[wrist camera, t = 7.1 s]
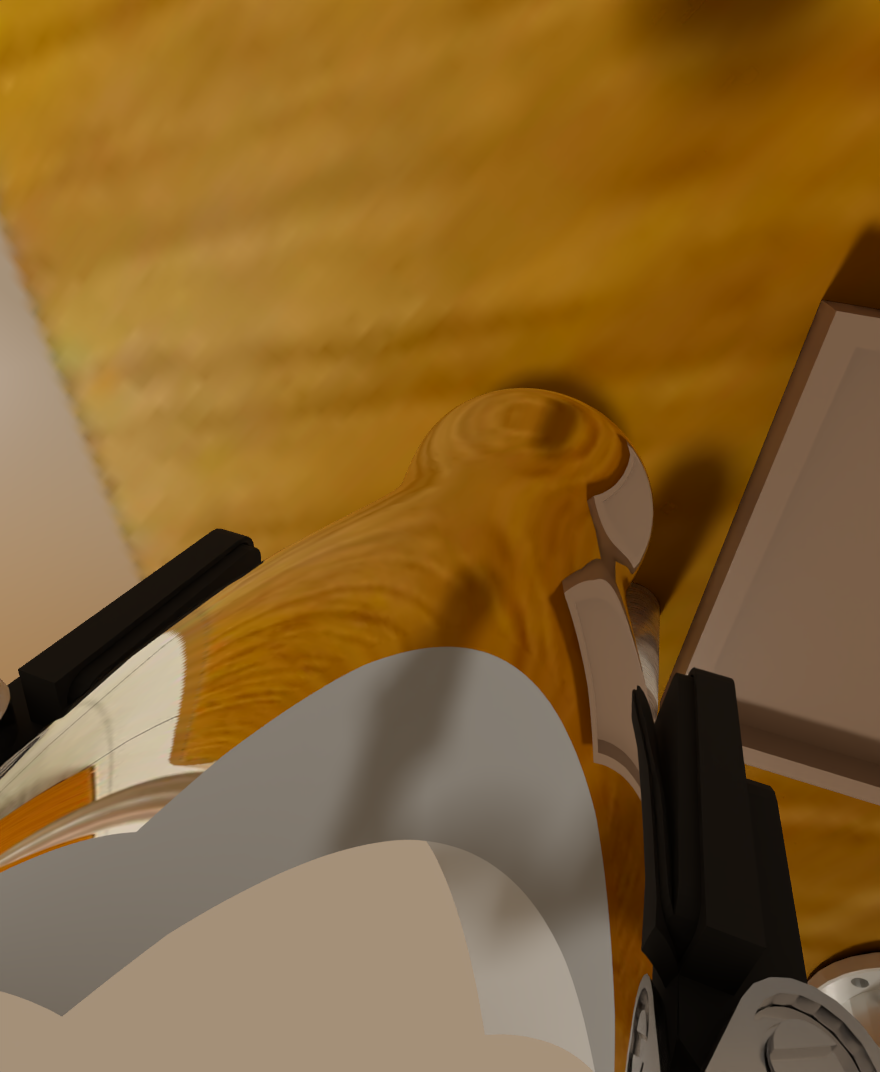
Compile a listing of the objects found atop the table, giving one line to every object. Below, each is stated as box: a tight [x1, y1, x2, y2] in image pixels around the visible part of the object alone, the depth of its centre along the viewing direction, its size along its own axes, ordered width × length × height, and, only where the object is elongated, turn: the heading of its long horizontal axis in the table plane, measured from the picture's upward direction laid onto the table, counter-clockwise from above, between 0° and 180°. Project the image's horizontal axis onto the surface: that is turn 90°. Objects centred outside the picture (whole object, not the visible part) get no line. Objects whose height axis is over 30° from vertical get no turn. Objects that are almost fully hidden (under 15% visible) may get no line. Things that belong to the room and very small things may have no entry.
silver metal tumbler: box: [0, 388, 678, 1072], centre depth 10 cm, size 7×7×15 cm
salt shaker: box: [627, 583, 660, 723], centre depth 28 cm, size 3×3×8 cm
